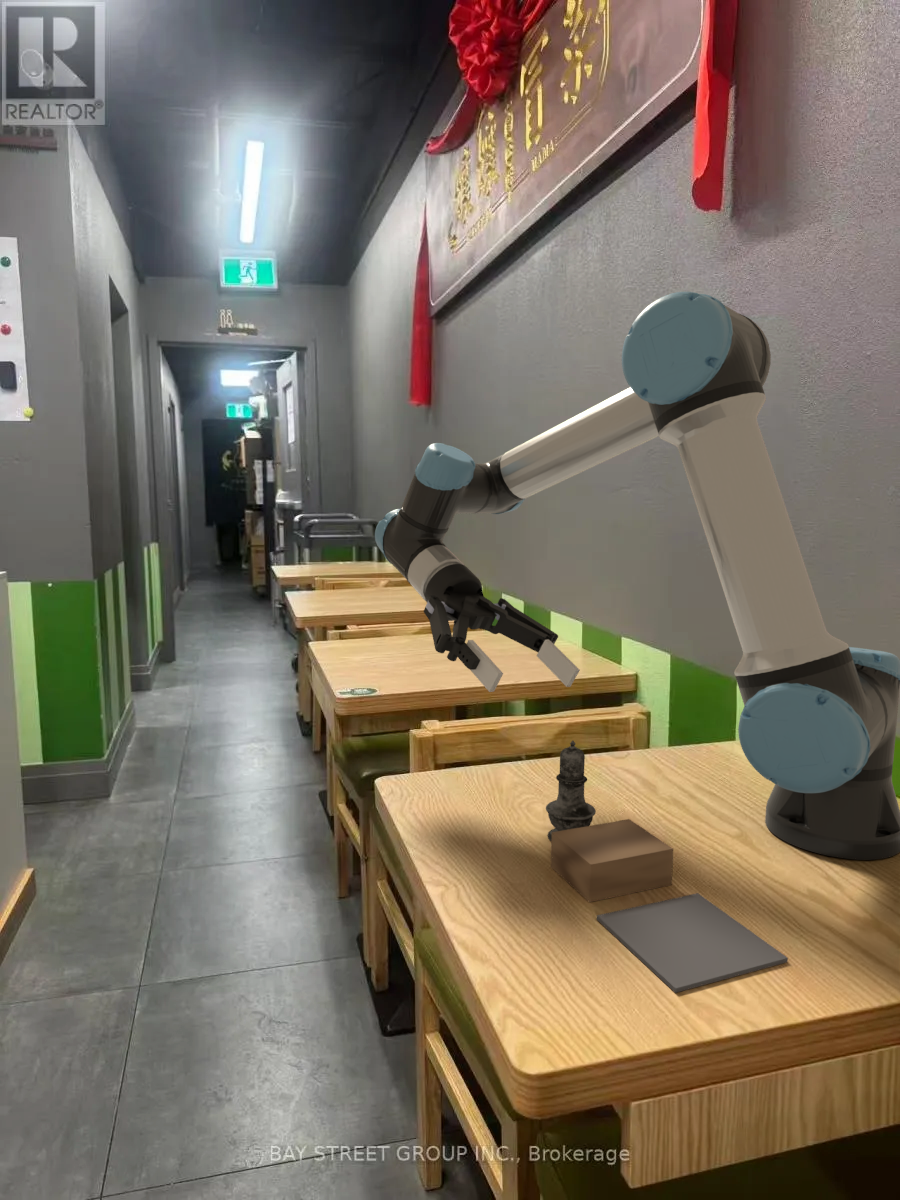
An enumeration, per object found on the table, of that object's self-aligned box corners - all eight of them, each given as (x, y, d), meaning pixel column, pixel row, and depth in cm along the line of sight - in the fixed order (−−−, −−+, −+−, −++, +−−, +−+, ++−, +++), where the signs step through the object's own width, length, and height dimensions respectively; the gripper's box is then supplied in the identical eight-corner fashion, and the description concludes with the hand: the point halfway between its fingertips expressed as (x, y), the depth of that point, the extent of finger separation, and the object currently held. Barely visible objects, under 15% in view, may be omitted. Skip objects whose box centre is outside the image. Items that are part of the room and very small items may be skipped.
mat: (697, 896, 80) (697, 893, 80) (787, 962, 69) (787, 957, 69) (596, 919, 76) (596, 915, 76) (675, 992, 65) (675, 988, 65)
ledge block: (550, 866, 86) (551, 832, 86) (627, 852, 90) (629, 819, 89) (589, 902, 79) (590, 864, 78) (671, 884, 82) (673, 848, 82)
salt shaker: (552, 823, 97) (555, 730, 96) (599, 832, 95) (603, 736, 94) (539, 843, 92) (541, 744, 90) (588, 852, 90) (592, 751, 88)
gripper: (499, 608, 119) (588, 698, 105) (362, 604, 103) (446, 710, 89) (520, 566, 116) (614, 654, 102) (382, 555, 99) (472, 658, 86)
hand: (536, 680), depth 96 cm, fingers open, 13 cm apart
